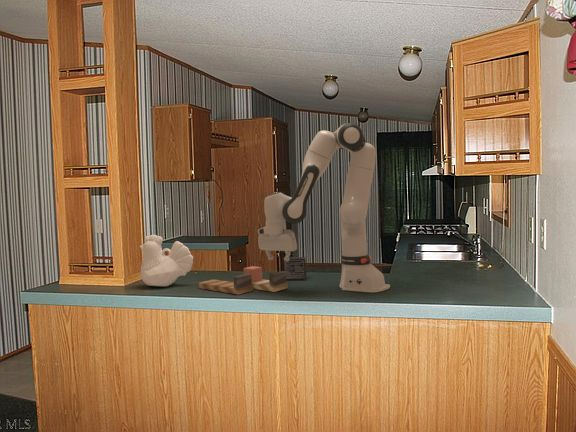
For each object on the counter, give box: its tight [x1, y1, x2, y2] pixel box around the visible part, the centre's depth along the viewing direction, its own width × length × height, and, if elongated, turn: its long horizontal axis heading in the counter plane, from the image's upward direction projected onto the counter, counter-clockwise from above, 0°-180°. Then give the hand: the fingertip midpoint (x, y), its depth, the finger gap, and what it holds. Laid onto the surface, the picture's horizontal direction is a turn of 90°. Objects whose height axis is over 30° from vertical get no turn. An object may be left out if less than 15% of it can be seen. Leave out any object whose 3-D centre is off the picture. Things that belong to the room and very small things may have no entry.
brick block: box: [242, 265, 263, 282], centre depth 257 cm, size 6×6×6 cm
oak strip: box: [198, 273, 254, 295], centre depth 253 cm, size 26×9×8 cm, turn 49°
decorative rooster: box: [139, 234, 194, 287], centre depth 266 cm, size 25×16×25 cm, turn 77°
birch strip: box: [232, 270, 289, 293], centre depth 255 cm, size 26×9×8 cm, turn 49°
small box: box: [282, 256, 307, 281], centre depth 271 cm, size 11×6×10 cm, turn 84°
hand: (278, 260), depth 247 cm, fingers open, 8 cm apart
